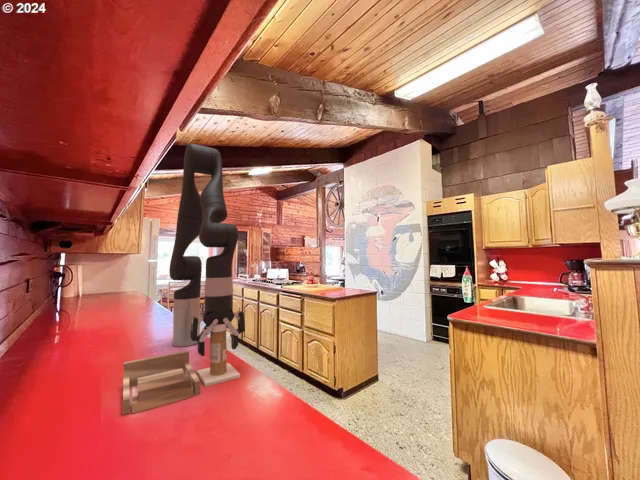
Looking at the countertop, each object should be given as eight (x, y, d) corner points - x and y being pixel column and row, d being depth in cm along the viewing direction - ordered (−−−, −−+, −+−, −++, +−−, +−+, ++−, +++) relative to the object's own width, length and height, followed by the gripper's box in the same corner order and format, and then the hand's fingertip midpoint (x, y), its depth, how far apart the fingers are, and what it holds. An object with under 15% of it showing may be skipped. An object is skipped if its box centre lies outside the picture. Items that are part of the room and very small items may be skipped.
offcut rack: (123, 386, 71) (123, 362, 71) (187, 371, 80) (188, 350, 80) (122, 416, 58) (123, 386, 58) (200, 394, 66) (200, 368, 67)
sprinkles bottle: (230, 371, 78) (230, 322, 78) (215, 377, 74) (215, 326, 75) (220, 367, 80) (220, 320, 81) (205, 373, 77) (206, 323, 77)
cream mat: (197, 373, 78) (197, 370, 78) (229, 365, 84) (229, 363, 84) (205, 386, 70) (205, 383, 70) (240, 377, 75) (240, 374, 75)
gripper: (239, 289, 85) (239, 343, 84) (188, 294, 77) (188, 353, 76) (248, 292, 79) (248, 350, 78) (194, 297, 71) (193, 361, 70)
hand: (218, 351), depth 77 cm, fingers open, 8 cm apart
